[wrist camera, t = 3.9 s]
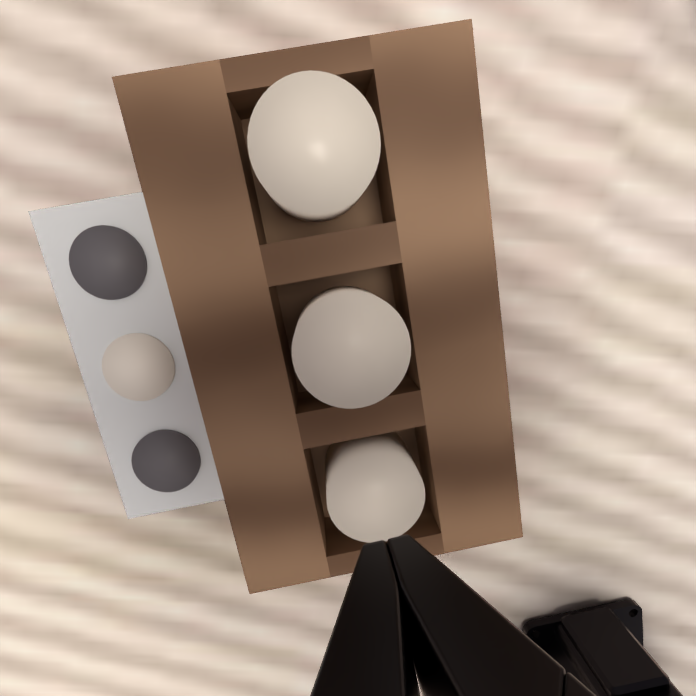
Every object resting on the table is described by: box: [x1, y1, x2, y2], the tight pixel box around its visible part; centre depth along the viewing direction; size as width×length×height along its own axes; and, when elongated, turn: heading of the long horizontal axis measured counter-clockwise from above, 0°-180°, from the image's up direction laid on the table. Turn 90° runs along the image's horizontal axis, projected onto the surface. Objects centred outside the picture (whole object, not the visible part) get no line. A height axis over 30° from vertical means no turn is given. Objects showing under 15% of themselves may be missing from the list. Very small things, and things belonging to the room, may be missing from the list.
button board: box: [112, 19, 523, 594], centre depth 18 cm, size 20×12×3 cm, turn 10°
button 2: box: [325, 432, 425, 543], centre depth 19 cm, size 4×4×3 cm
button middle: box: [292, 286, 411, 409], centre depth 16 cm, size 4×4×3 cm
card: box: [28, 192, 224, 519], centre depth 19 cm, size 14×5×1 cm, turn 10°
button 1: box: [247, 70, 381, 222], centre depth 14 cm, size 4×4×3 cm
